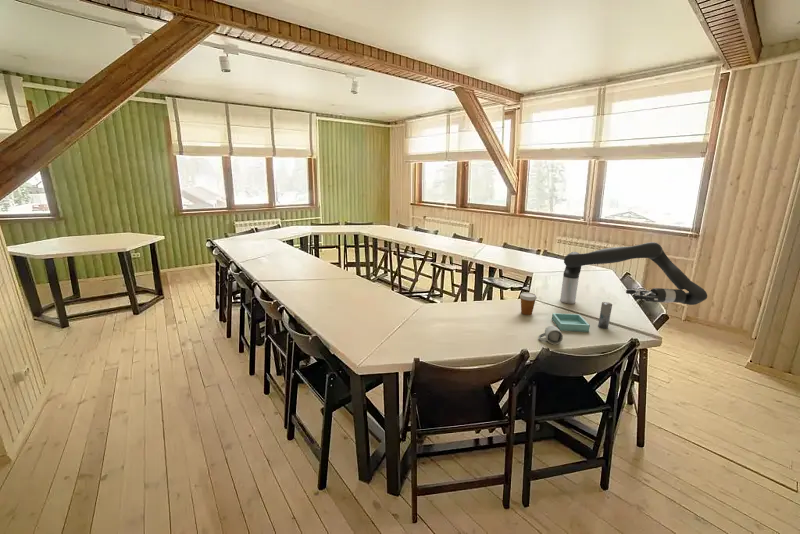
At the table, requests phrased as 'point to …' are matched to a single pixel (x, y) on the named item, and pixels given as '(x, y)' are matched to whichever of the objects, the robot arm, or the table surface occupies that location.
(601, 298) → the table surface
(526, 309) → the disposable coffee cup
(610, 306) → the charcoal metal canister
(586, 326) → the teal box
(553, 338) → the ceramic mug
